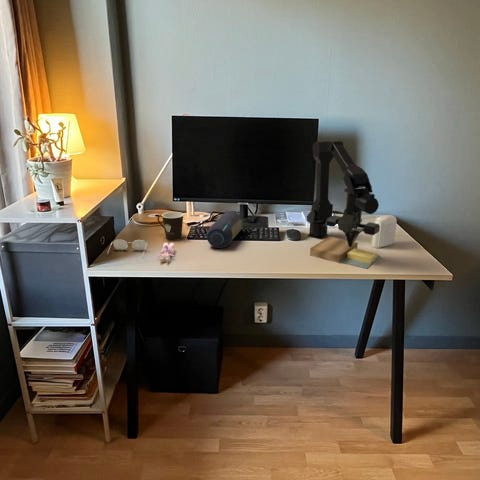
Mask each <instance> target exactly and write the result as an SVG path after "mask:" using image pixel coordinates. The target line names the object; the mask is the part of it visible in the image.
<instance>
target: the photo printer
mask: <svg viewBox="0 0 480 480" xmlns="http://www.w3.org/2000/svg"><path fill="white" fill-rule="evenodd" d="M397 222H398V220H397V218H396V216H395V215H392V214H385V215H382V216H379V217H378V218H377V219H376V220H375V222H374V223H376V224H379V226H380V229H379V232H378V233H376V234H375V235H371V236H372V237H371V247H373V248H376V249H378V248H384V247H387V246H390V245H394V244H395V239H396V238H395V236H396V228H397Z"/></svg>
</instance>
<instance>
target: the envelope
mask: <svg viewBox="0 0 480 480" xmlns="http://www.w3.org/2000/svg"><path fill="white" fill-rule="evenodd" d="M334 214H335V215H336V216H340V217H342V216H343V214H344V213H334ZM377 218H379V217H378V216H377V215H373V214H362V215H361V219H362V222H361V224H365V225H366V224H367V223H369V222H371V223H374V222H375V220H376V219H377Z"/></svg>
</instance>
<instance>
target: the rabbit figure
mask: <svg viewBox="0 0 480 480" xmlns="http://www.w3.org/2000/svg"><path fill="white" fill-rule="evenodd" d="M174 246H175V243H174V242H171V243H168V242H164V243H163V245H162V249H161V250H160V254H158V255H157V257H160V262H159V264H163V263H166V264H165V265H169V263H170V262H171V257H175V255H174V254H175V251H174V249H173V248H175V247H174Z"/></svg>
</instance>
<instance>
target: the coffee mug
mask: <svg viewBox="0 0 480 480" xmlns="http://www.w3.org/2000/svg"><path fill="white" fill-rule="evenodd" d="M160 218H162V223H163V224H162V223H161V221H160ZM157 222H158V224H159V225H160V226H161V227H162V228H163V229H164V234H165V235H164V236H165V239H166V240H167V241H172V242H174V241H179V240H181V239H182V236H183V222H184V213H183V212H180V211H179V212H178V211H169V212H164V213H162V214H161V215H158V216H157Z"/></svg>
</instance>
